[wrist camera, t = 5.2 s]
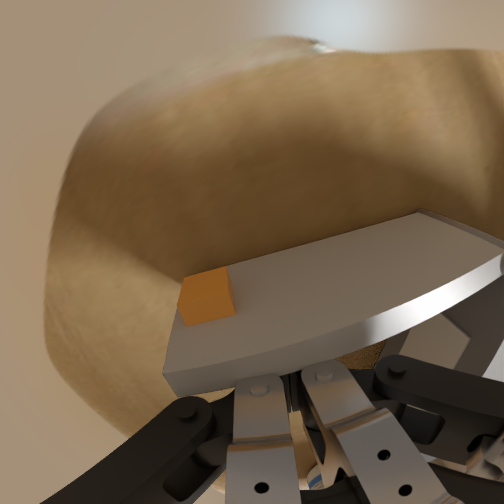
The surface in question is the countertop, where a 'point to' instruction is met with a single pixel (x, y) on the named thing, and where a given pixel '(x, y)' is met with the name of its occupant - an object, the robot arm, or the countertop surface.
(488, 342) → the camera housing
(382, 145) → the countertop surface
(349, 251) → the side door
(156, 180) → the countertop surface
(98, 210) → the countertop surface
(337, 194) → the countertop surface
